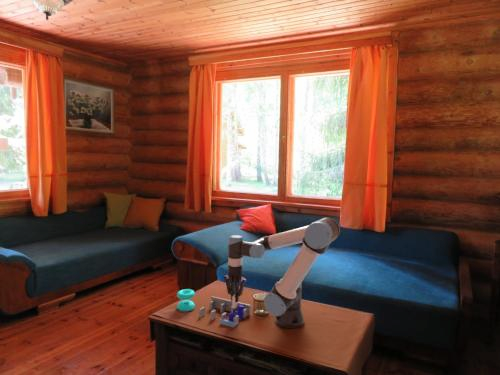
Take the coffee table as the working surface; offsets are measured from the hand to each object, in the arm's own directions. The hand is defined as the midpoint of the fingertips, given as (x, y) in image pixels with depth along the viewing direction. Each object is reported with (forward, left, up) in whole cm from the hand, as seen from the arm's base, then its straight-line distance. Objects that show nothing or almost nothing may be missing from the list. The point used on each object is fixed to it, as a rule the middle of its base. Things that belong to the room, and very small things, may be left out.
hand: (234, 307), depth 196 cm
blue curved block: (-1, 0, -7) cm, 7 cm away
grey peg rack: (+7, 0, -7) cm, 10 cm away
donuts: (+31, +2, -7) cm, 32 cm away
